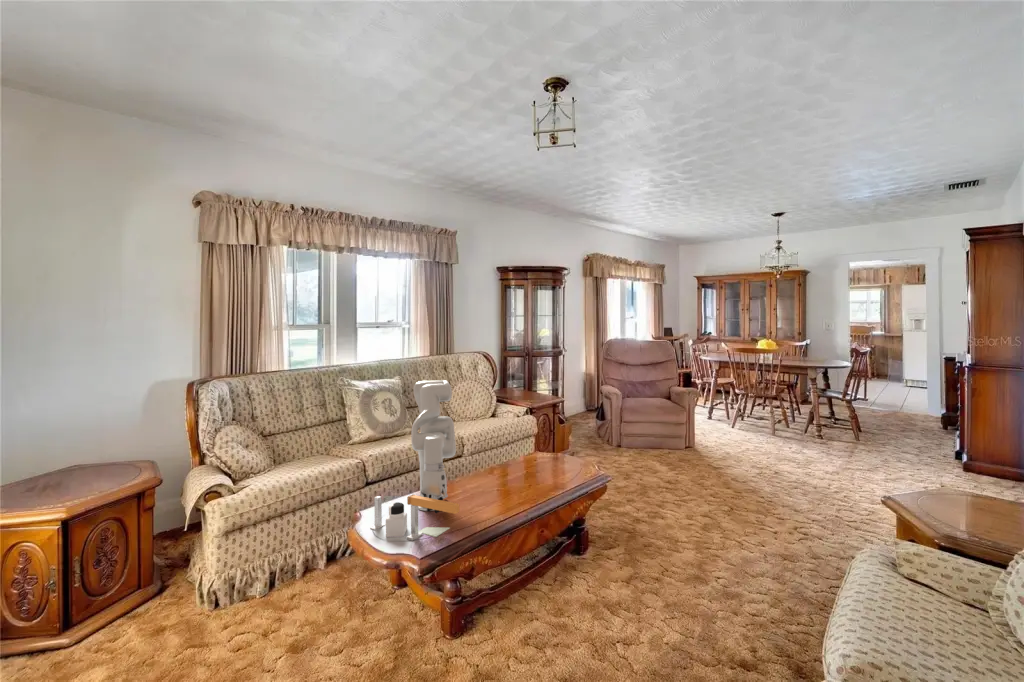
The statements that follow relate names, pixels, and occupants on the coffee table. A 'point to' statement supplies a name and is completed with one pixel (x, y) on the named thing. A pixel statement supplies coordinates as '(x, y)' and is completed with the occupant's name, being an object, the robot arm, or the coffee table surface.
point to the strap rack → (379, 524)
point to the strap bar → (433, 504)
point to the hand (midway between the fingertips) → (434, 510)
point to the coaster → (433, 531)
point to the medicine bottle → (396, 520)
